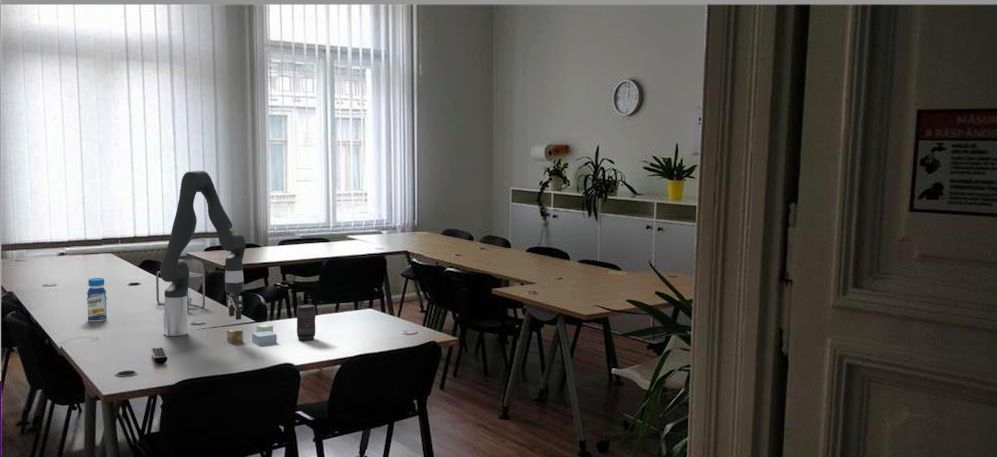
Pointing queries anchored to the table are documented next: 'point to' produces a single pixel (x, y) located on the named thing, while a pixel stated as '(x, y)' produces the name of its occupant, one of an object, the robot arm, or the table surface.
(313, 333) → the camera lens
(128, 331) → the table surface
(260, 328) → the sage cube
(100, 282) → the beverage bottle
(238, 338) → the walnut cube
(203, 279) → the newton's cradle
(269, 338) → the slate base block
